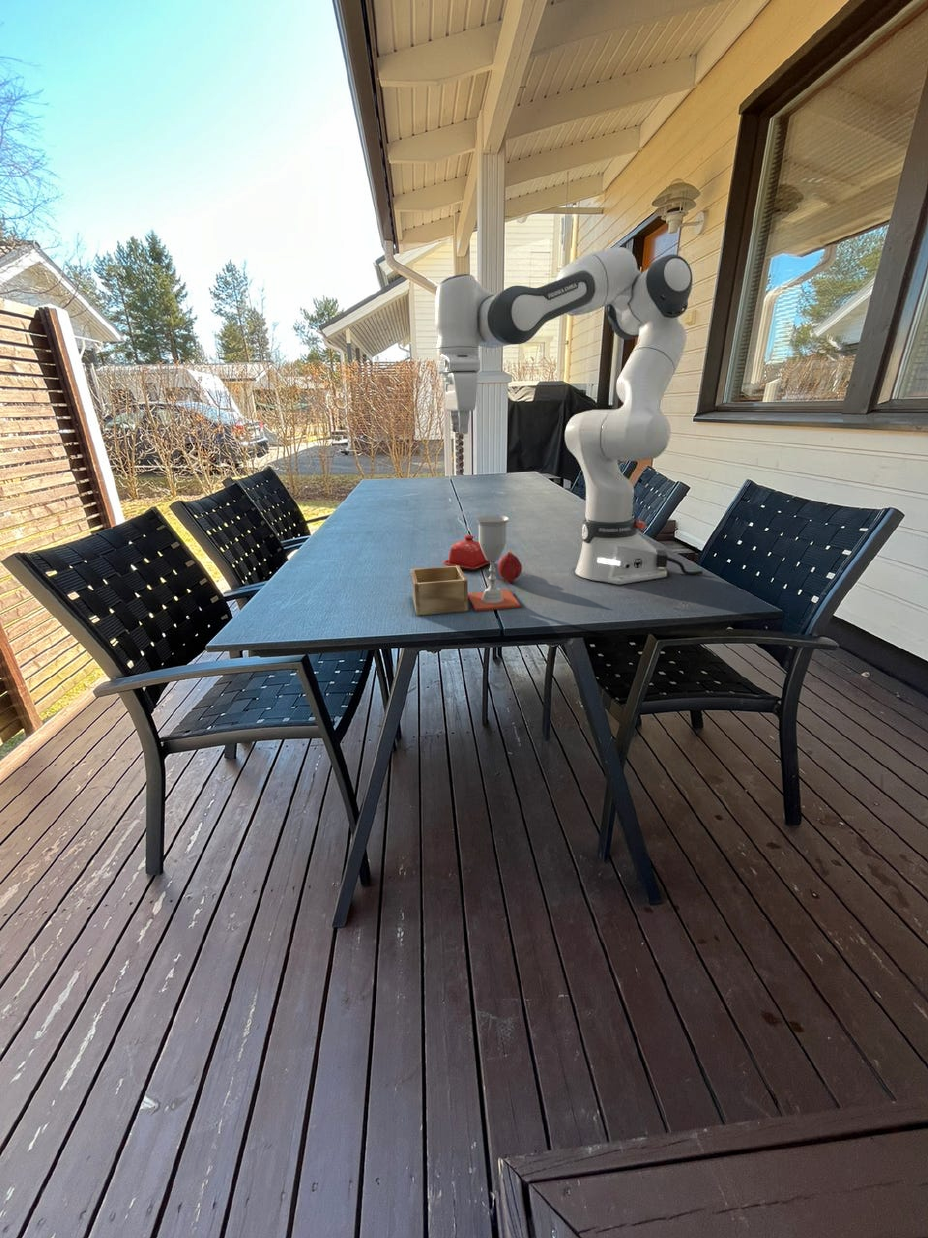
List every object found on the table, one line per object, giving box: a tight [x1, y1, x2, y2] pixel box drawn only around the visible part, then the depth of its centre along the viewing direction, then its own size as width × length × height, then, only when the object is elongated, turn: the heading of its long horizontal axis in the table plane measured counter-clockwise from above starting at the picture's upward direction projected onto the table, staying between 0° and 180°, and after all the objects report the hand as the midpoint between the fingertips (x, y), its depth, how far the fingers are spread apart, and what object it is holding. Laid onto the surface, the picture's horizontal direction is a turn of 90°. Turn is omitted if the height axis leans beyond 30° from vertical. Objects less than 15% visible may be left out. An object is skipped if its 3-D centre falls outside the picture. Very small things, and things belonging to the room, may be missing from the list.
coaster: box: [468, 589, 521, 612], centre depth 117 cm, size 10×10×1 cm
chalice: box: [475, 514, 509, 603], centre depth 114 cm, size 7×7×18 cm
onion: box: [497, 550, 523, 584], centre depth 128 cm, size 6×6×8 cm
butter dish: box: [441, 534, 490, 571], centre depth 142 cm, size 12×12×8 cm
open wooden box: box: [410, 565, 469, 616], centre depth 115 cm, size 11×11×7 cm
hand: (459, 432), depth 117 cm, fingers open, 8 cm apart
